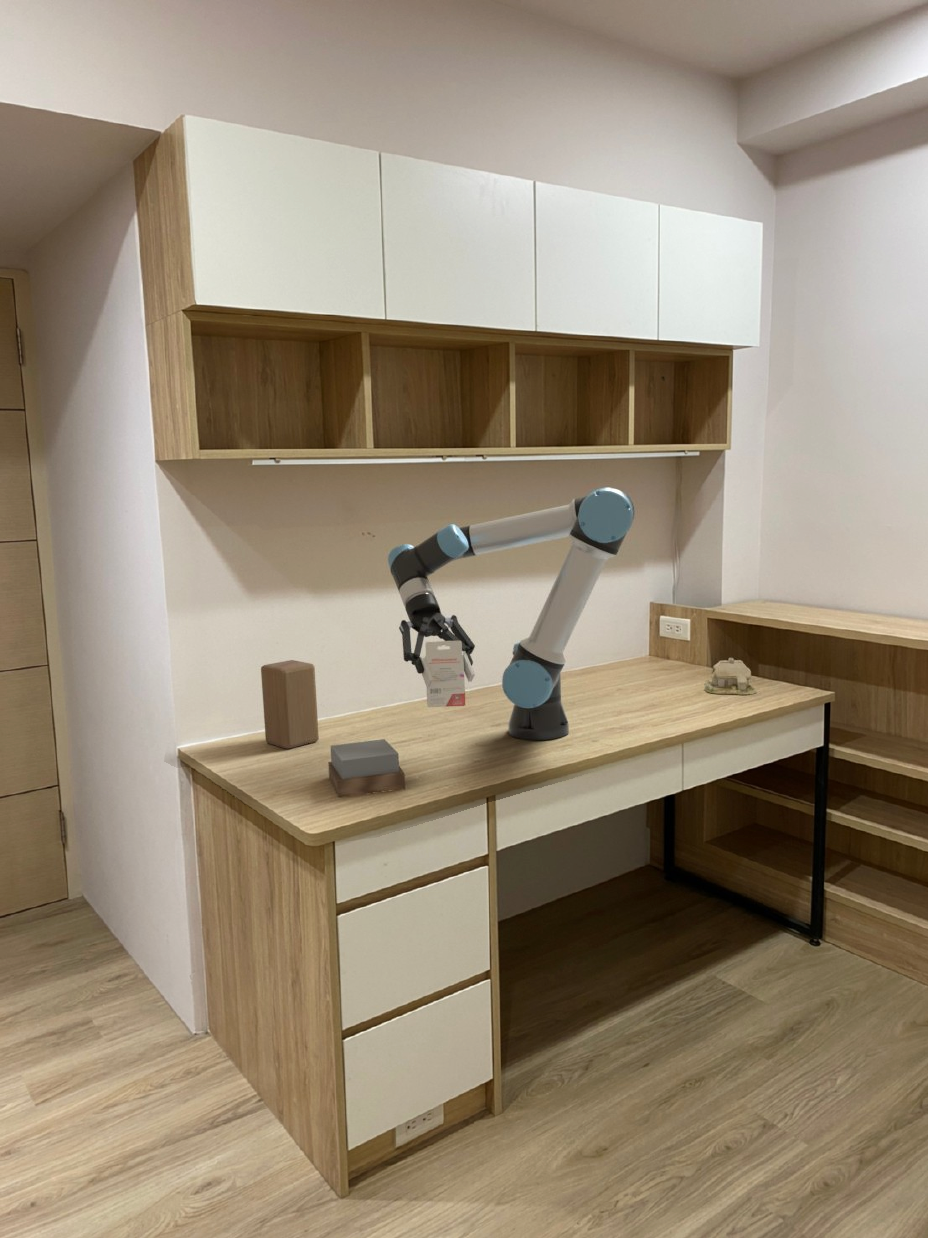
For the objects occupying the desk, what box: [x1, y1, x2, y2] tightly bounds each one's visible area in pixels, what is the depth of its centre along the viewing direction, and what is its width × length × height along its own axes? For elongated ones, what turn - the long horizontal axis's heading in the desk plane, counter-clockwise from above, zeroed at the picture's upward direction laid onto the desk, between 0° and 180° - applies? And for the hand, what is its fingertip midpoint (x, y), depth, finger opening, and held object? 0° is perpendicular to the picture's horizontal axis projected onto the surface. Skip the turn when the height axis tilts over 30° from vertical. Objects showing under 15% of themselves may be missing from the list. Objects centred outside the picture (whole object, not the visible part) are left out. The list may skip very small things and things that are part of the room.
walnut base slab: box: [328, 761, 406, 798], centre depth 200 cm, size 14×14×4 cm
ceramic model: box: [703, 657, 757, 696], centre depth 272 cm, size 14×11×10 cm
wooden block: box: [260, 659, 320, 750], centre depth 233 cm, size 10×10×20 cm
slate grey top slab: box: [330, 738, 400, 779], centre depth 199 cm, size 12×12×4 cm
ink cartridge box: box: [424, 640, 466, 708], centre depth 208 cm, size 9×5×15 cm, turn 90°
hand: (451, 680), depth 205 cm, fingers closed on ink cartridge box, 9 cm apart
